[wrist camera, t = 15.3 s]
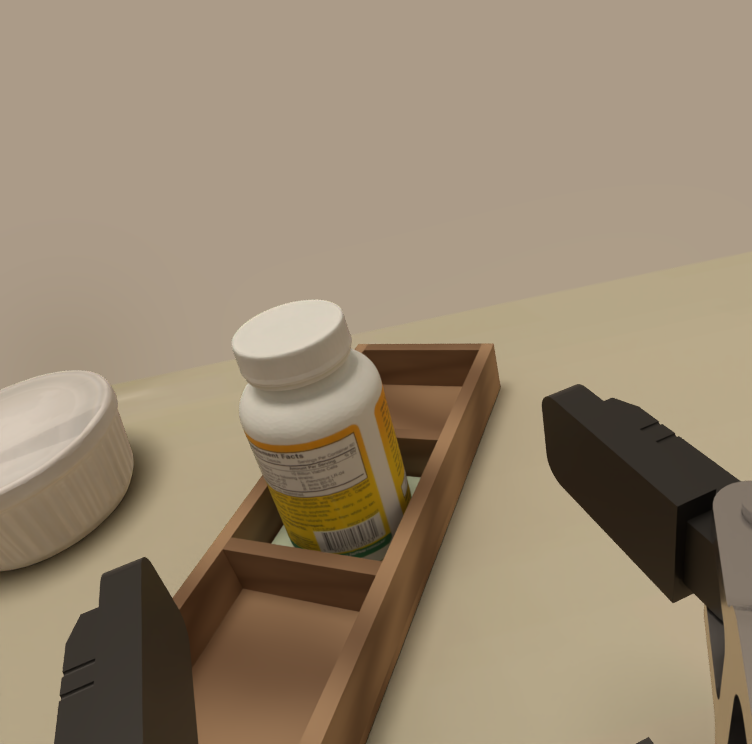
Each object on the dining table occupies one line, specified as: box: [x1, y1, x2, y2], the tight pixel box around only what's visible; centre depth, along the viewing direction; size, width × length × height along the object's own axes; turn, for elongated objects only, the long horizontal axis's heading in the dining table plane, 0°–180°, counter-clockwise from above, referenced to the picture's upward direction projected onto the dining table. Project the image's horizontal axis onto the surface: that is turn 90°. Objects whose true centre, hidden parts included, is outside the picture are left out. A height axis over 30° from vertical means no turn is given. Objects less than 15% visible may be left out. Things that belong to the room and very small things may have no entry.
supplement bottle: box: [232, 300, 412, 561], centre depth 24 cm, size 5×5×10 cm
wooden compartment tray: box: [172, 344, 500, 744], centre depth 26 cm, size 22×8×3 cm, turn 158°
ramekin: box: [0, 370, 134, 571], centre depth 33 cm, size 11×11×5 cm
